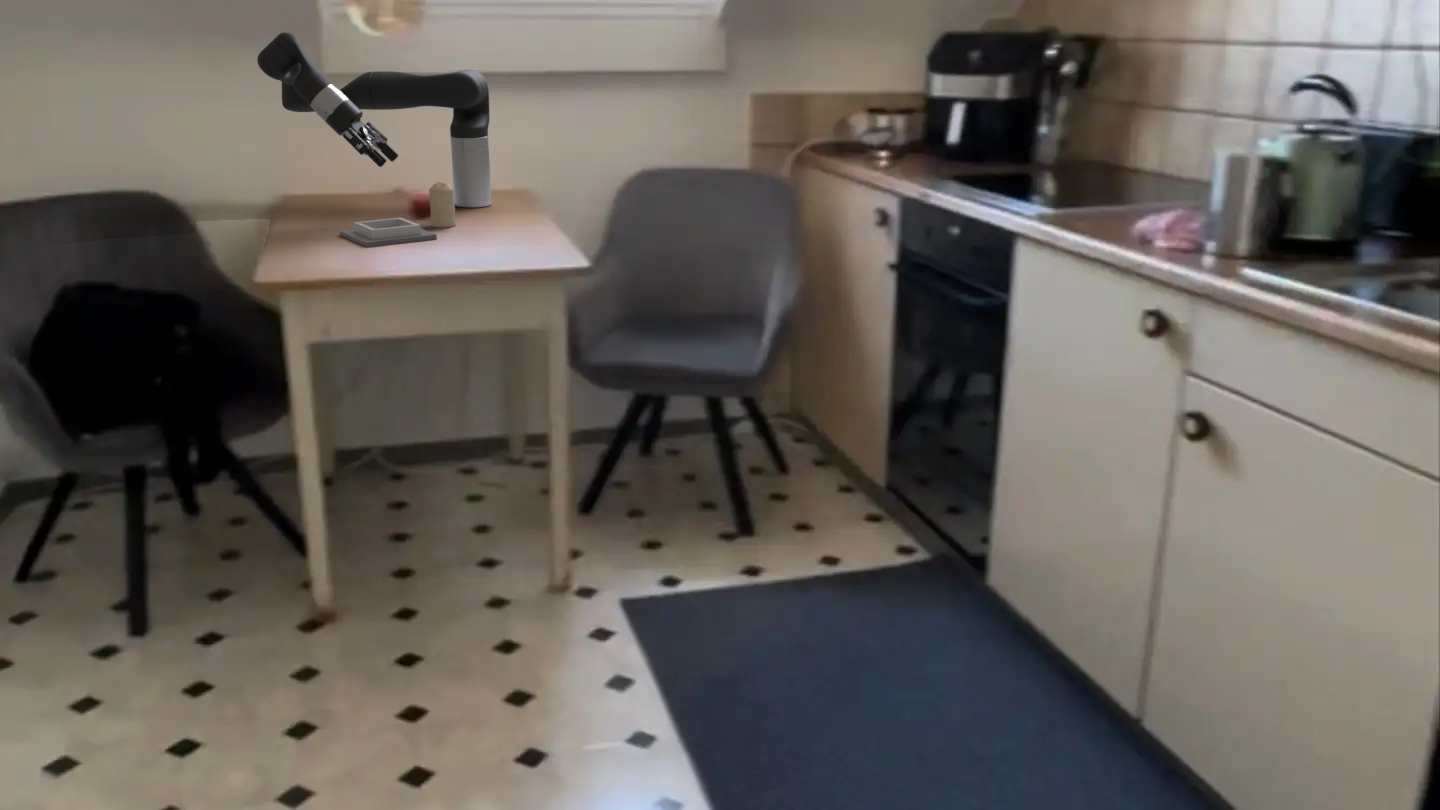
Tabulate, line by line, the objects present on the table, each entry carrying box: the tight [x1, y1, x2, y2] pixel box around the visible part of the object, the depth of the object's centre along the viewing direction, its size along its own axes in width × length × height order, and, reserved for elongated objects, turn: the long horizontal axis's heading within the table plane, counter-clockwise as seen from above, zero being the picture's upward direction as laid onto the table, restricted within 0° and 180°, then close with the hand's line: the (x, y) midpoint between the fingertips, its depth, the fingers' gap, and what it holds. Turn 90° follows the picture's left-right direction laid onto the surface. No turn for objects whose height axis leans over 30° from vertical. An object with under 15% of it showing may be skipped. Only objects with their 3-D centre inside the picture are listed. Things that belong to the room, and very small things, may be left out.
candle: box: [428, 181, 457, 229], centre depth 287 cm, size 6×6×10 cm
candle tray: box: [339, 217, 438, 248], centre depth 275 cm, size 16×16×3 cm
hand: (389, 161), depth 285 cm, fingers open, 8 cm apart
